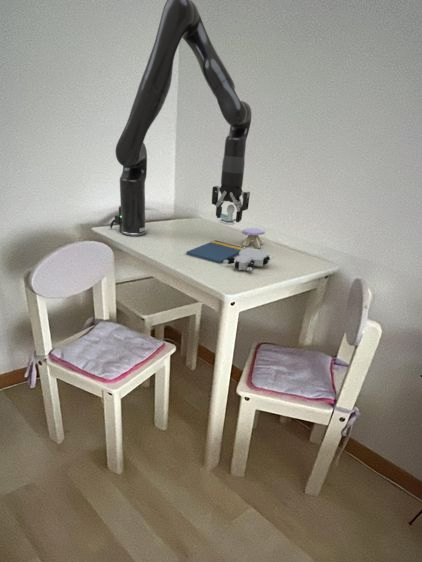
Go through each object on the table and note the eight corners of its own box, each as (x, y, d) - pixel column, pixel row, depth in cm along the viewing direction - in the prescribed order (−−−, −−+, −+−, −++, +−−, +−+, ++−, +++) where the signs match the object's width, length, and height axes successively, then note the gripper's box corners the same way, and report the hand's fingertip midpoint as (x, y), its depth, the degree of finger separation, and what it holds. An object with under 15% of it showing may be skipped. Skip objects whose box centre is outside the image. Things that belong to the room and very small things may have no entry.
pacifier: (230, 227, 152) (240, 223, 155) (232, 208, 148) (242, 206, 152) (214, 222, 155) (224, 219, 159) (215, 204, 151) (225, 201, 155)
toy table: (245, 249, 162) (247, 233, 159) (235, 242, 169) (237, 227, 166) (268, 248, 165) (270, 233, 162) (257, 241, 172) (259, 226, 169)
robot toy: (250, 279, 138) (274, 265, 147) (252, 266, 135) (276, 253, 145) (220, 269, 144) (245, 256, 153) (220, 256, 141) (246, 244, 151)
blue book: (186, 254, 151) (186, 251, 151) (215, 242, 166) (215, 239, 165) (220, 263, 146) (220, 260, 145) (246, 250, 160) (247, 247, 160)
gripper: (256, 172, 145) (250, 221, 154) (220, 166, 151) (216, 214, 160) (246, 174, 140) (240, 225, 149) (209, 168, 146) (206, 217, 155)
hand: (228, 219), depth 155 cm, fingers closed on pacifier, 7 cm apart
